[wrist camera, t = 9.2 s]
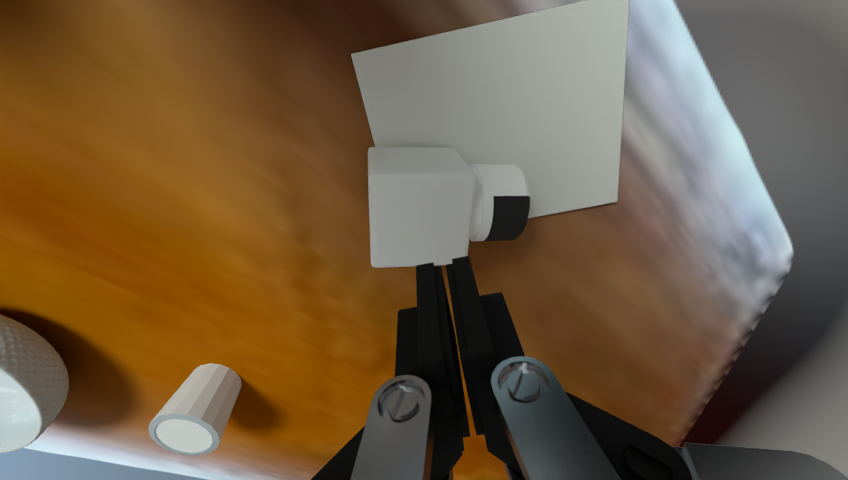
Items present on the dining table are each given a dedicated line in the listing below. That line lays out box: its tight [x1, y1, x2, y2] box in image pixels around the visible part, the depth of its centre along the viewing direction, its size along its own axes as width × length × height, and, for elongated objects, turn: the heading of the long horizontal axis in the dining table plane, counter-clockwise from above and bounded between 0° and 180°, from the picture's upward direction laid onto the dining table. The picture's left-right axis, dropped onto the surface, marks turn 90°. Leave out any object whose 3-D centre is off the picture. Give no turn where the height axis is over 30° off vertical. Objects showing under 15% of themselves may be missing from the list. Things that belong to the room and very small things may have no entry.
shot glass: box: [148, 364, 242, 456], centre depth 39 cm, size 7×7×7 cm
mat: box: [351, 0, 629, 218], centre depth 29 cm, size 16×20×1 cm
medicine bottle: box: [368, 147, 530, 268], centre depth 28 cm, size 7×7×12 cm
